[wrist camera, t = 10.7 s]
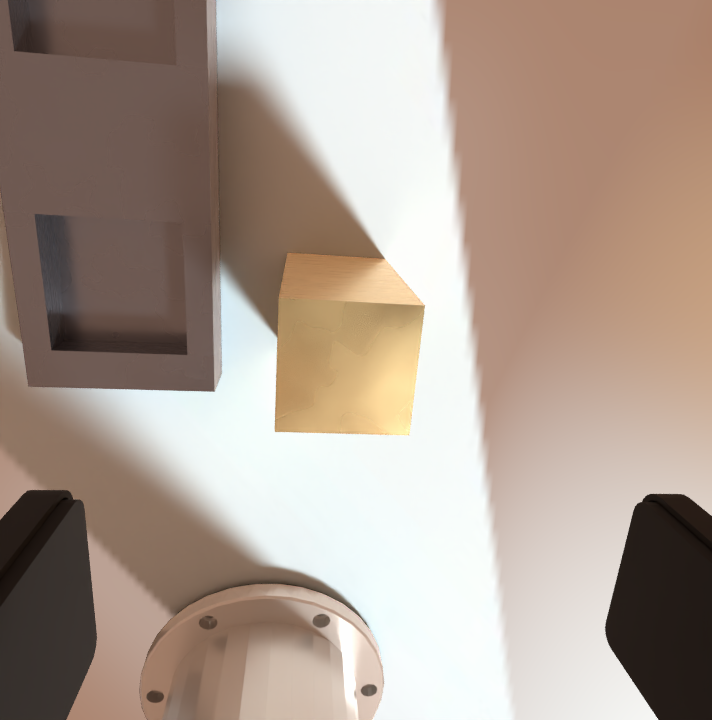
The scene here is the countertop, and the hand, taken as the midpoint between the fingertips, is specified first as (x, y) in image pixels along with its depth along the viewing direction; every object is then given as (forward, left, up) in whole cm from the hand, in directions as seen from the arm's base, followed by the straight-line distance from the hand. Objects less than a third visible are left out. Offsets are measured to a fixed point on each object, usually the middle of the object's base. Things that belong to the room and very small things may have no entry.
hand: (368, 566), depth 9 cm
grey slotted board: (+2, +10, -15) cm, 18 cm away
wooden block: (+1, 0, -15) cm, 15 cm away
